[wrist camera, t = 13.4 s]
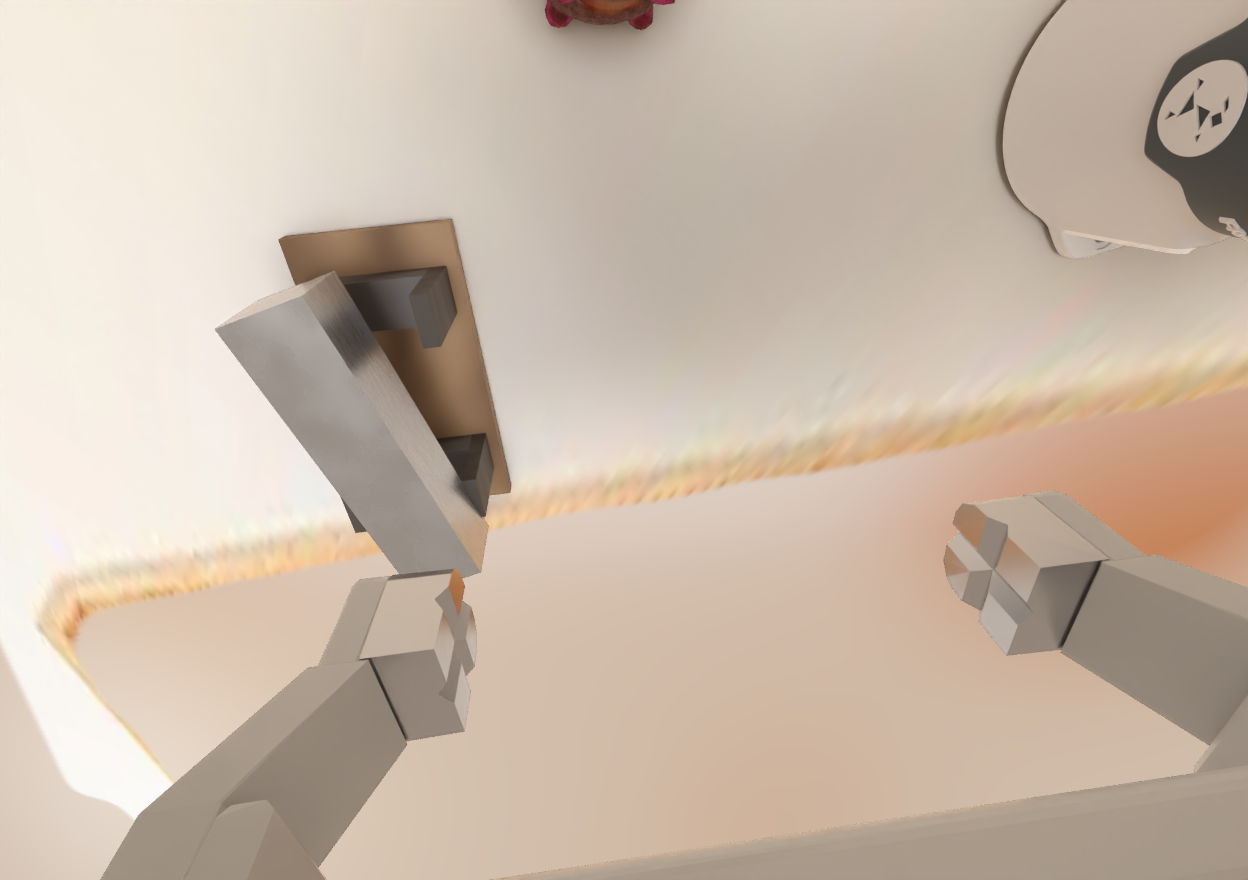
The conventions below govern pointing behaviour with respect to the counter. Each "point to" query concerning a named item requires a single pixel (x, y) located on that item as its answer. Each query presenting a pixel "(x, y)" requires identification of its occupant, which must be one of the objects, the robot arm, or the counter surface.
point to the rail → (359, 424)
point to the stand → (419, 334)
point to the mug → (602, 11)
